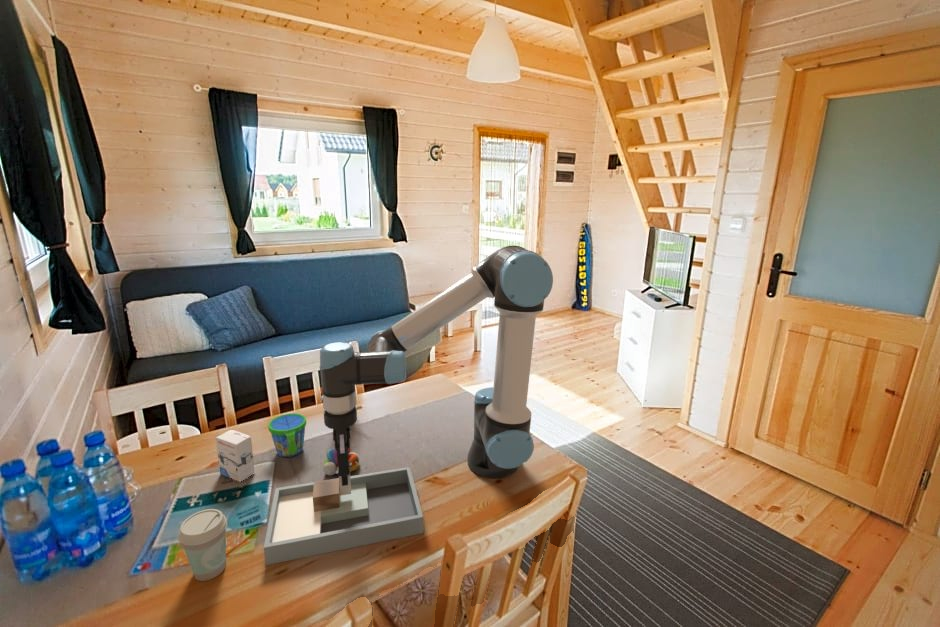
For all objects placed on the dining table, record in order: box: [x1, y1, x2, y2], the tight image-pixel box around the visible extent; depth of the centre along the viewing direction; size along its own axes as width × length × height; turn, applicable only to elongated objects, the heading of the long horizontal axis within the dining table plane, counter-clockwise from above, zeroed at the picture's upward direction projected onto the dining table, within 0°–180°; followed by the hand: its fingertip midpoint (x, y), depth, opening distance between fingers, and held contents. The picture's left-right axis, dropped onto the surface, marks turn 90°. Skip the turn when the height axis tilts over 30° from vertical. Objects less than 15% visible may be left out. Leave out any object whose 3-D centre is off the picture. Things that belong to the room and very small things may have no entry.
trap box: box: [263, 466, 425, 566], centre depth 107 cm, size 34×20×4 cm, turn 106°
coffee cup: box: [178, 508, 228, 582], centre depth 91 cm, size 8×8×12 cm
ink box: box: [215, 429, 255, 483], centre depth 122 cm, size 9×5×12 cm, turn 65°
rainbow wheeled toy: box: [322, 447, 360, 476], centre depth 125 cm, size 8×10×7 cm
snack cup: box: [267, 412, 307, 458], centre depth 133 cm, size 16×10×10 cm
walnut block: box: [313, 477, 340, 512], centre depth 109 cm, size 6×6×4 cm
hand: (345, 492), depth 110 cm, fingers closed
